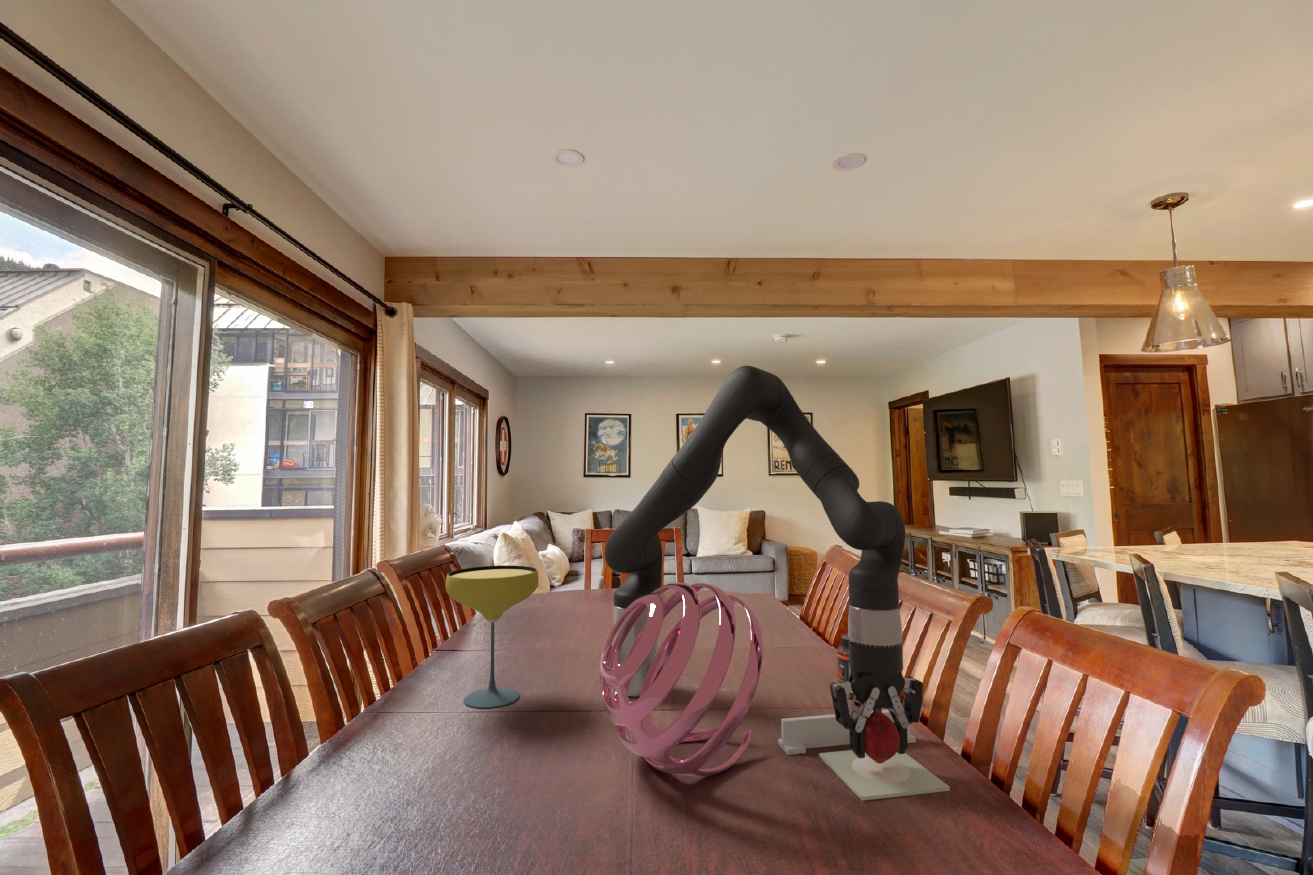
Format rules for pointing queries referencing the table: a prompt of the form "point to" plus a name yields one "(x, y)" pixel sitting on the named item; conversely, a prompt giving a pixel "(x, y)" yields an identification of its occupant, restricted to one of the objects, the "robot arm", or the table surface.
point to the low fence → (817, 733)
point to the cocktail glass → (492, 612)
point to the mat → (883, 775)
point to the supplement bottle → (844, 662)
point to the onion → (880, 737)
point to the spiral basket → (668, 671)
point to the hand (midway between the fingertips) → (878, 753)
